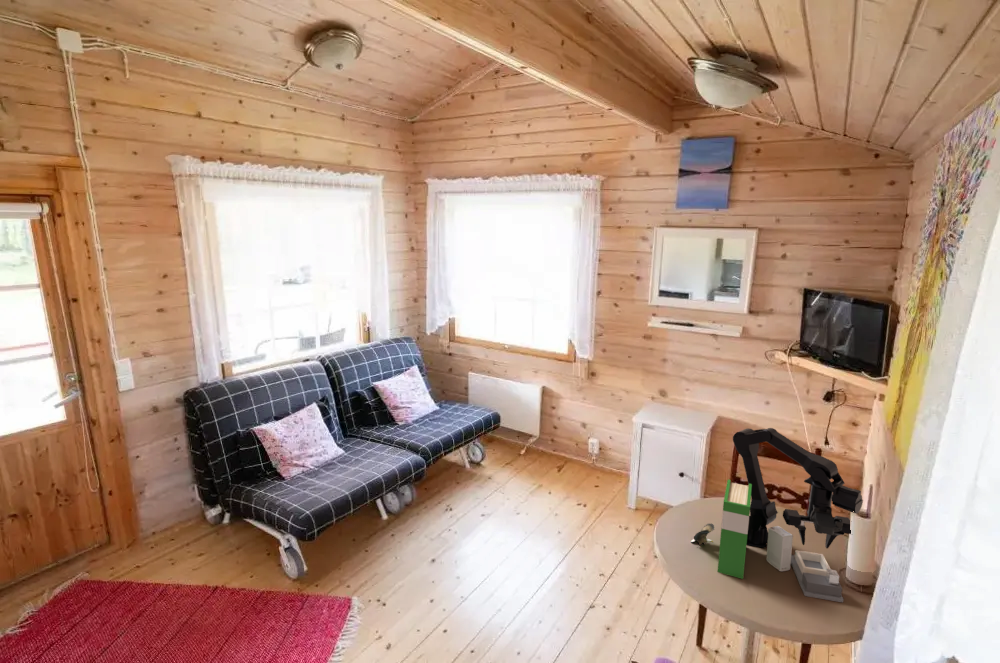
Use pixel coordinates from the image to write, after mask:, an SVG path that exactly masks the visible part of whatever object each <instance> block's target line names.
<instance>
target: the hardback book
mask: <svg viewBox="0 0 1000 663" xmlns="http://www.w3.org/2000/svg"><path fill="white" fill-rule="evenodd" d="M726 482H727V483H726V487H725V491H724V496H723V497H724V499H723V504H722V516H721V517H722V518H721V519H722V520H721V528H720V539H719V552H718V561H717V562H718V563H717V573H720V574H723V575H726V576H731V577H735V578H737V579H742V580H744V574H745V562H746V554H747V545H746V544H747V534H748V524H749V516H750V505H751V489H752V484H749V485H745V484H741V483H736V482H731V479H728V478H727V480H726Z"/></svg>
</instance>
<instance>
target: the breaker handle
mask: <svg viewBox="0 0 1000 663" xmlns="http://www.w3.org/2000/svg"><path fill="white" fill-rule="evenodd" d="M826 579H827V581H828V583H829V584H835V585H838V583H840V582H839V581H840V575H839V573H838V571H837V570H836V569H832V568H831V569H827V572H826Z"/></svg>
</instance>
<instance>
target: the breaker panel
mask: <svg viewBox="0 0 1000 663" xmlns="http://www.w3.org/2000/svg"><path fill="white" fill-rule="evenodd" d="M791 566H792V569H793V572H794V574H795V577H796V579H797V581H798V584H799V586H800V589H801V591H802V593H803V596H804V597H808V598H809V597H810V598H816V599H820V600H826V601H833V602H839V603H844V597H843V596H842V592H843V587H842V585H841V583H840V582H839V583H838V585H835V584H829V583H828V581H827V579H826V572H827V569H831V570H832V568H831V567H830V565H829V563H828V562H827V560H826V558H825V555H824V554H823V553H817V552H811V551H805V550H797V549H795V550H794V554H791Z"/></svg>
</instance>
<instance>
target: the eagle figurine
mask: <svg viewBox="0 0 1000 663" xmlns="http://www.w3.org/2000/svg"><path fill="white" fill-rule="evenodd" d="M714 530H715V524H713V523H707V524H705V525H704V526H703V527H702V528H701V530H700V531H698V532H696V533H695V535H694V536H693V538H692V539H691V541H690V543H694V542H698V546H699V547H700V548H702V547H703V546H705V544H706V543H707V544H708V543H714V541H713V540H712V539H709V538H707V535H708V534H710V533H711V532H713V531H714ZM699 547H696V549H698V548H699Z"/></svg>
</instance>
